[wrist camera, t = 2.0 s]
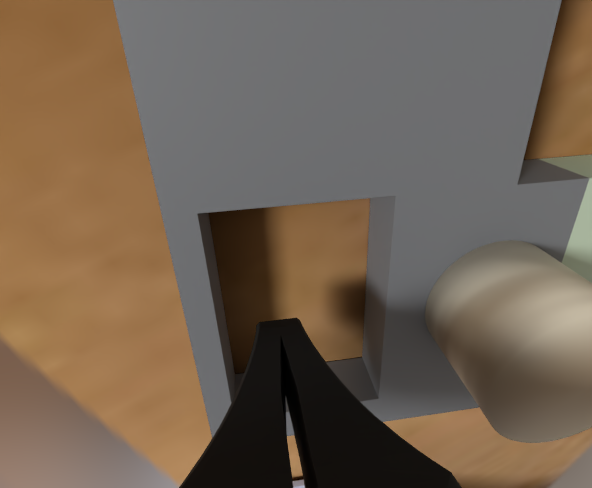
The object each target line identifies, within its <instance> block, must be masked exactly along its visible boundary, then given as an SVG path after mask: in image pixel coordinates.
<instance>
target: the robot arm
mask: <svg viewBox="0 0 592 488" xmlns="http://www.w3.org/2000/svg"><path fill="white" fill-rule="evenodd" d="M286 400H287V404H288V409H289V413H290V417H291V422H292V426H293V431H294V435H295V439H296V444H297V448H298V453H299V457H300V462H301V467H302V472H303V478H304V479H303V480H297V481H292V474H291V467H290V459H289V452H288V444H287V428H286ZM179 488H461V486H460V485H459V483H458V482H457V480H456V479H455V477H454V476H453V475H452V473H451V472H450V471H448V470H447V469H445V468H444V467H442V466H440V465H439V464H437V463H436V462H434V461H433V460H431V459H430V458H428V457H427V456H425V455H424V454H423V453H421V452H420V451H418V450H417V449H416V448H414V447H413V446H412V445H410V444H409V443H408V442H406V441H405V440H404V439H402V438H401V437H400V436H398V435H397V434H396V433H395V432H394V431H392V430H391V429H390V428H389V427H388V426H387V425H385V424H384V423H383V422H382V421H381V420H379V419H378V418H377V417H376V416H375V415H374V414H373V413H371V412H370V411H369V410H368V409H367V408H366V407H365V406H364V405H363V404H362V403H361V402H360V401H359V400H358V399H357V398H356V397H355V396H354V395H353V394H352V393H351V392H350V391H349V390H348V388H347V387H346V386H345V385H344V384H343V383H342V382H341V381H340V379H339V378H338V377H337V376H336V375H335V373H334V372H333V371H332V370H331V368H330V367H329V366H328V365H327V363H326V362H325V360H324V359H323V358H322V356H321V355H320V354H319V352H318V351H317V349H316V348H315V346H314V345H313V343H312V342H311V340H310V339H309V337H308V335H307V334H306V332H305V330H304V328H303V326H302V324H301V322H300V320H299V319H297V318H291V319H283V320H274V321H266V322H259V323H258V324H257V325H256V335H255V340H254V344H253V348H252V352H251V355H250V358H249V361H248V364H247V367H246V370H245V373H244V375H243V378H242V380H241V382H240V385H239V387H238V390H237V392H236V394H235V397H234V399H233V401H232V403H231V405H230V407H229V409H228V411H227V413H226V415H225V417H224V419H223V421H222V423H221V424H220V426H219V428H218V429H217V431H216V433H215V435H214V436H213V438H212V440H211V442H210V443H209V445H208V446H207V448H206V450H205V451H204V453H203V454H202V456H201V457H200V459H199V460H198V461H197V463H196V464H195V466H194V467H193V469H192V470H191V472H190V473H189V475H188V476H187V477H186V479H185V480H184V482H183V483H182V484H181V486H180V487H179Z"/></svg>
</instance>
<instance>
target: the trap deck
mask: <svg viewBox="0 0 592 488" xmlns="http://www.w3.org/2000/svg"><path fill="white" fill-rule="evenodd" d="M561 1H562V0H113V2H114V6H115V11H116V15H117V20H118V24H119V28H120V33H121V37H122V42H123V46H124V50H125V55H126V59H127V64H128V68H129V73H130V77H131V81H132V86H133V90H134V95H135V99H136V103H137V108H138V112H139V117H140V121H141V125H142V130H143V134H144V139H145V143H146V147H147V152H148V156H149V161H150V165H151V170H152V174H153V178H154V183H155V187H156V192H157V196H158V200H159V205H160V209H161V214H162V218H163V222H164V227H165V231H166V236H167V240H168V244H169V249H170V253H171V258H172V262H173V266H174V271H175V275H176V280H177V284H178V289H179V293H180V297H181V302H182V306H183V311H184V315H185V319H186V324H187V328H188V333H189V337H190V341H191V346H192V350H193V355H194V359H195V363H196V368H197V372H198V377H199V381H200V385H201V390H202V394H203V399H204V403H205V408H206V412H207V416H208V421H209V425H210V430H211V434H212V438H213V436H214V435H215V433H216V431H217V429H218V428H219V426H220V424H221V423H222V421H223V419H224V417H225V415H226V413H227V411H228V409H229V407H230V405H231V403H232V401H233V399H234V397H235V394H236V392H237V390H238V387H239V385H240V382H241V380H242V378H243V375H244V373H240V374H235V372H234V366H233V360H232V354H231V348H230V342H229V336H228V330H227V323H226V317H225V311H224V305H223V299H222V293H221V287H220V281H219V275H218V269H217V262H216V256H215V250H214V244H213V238H212V232H211V226H210V220H209V214H208V213H209V212H220V211H232V210H243V209H254V208H265V207H276V206H287V205H298V204H309V203H320V202H331V201H342V200H353V199H365V198H370V216H369V236H368V255H367V275H366V294H365V313H364V333H363V352H362V358H354V359H347V360H339V361H331V362H326V363H327V365H328V366H329V367H330V368H331V370H332V371H333V372H334V373H335V375H336V376H337V377H338V378H339V379H340V381H341V382H342V383H343V384H344V385H345V386H346V387H347V388H348V390H349V391H350V392H351V393H352V394H353V395H354V396H355V397H356V398H357V399H358V400H359V401H360V402H361V403H362V404H363V405H364V406H365V407H366V408H367V409H368V410H369V411H370V412H371V413H373V414H374V415H375V416H376V417H377V418H378V419H379V420H381V421H382V422H385V421H391V420H398V419H405V418H411V417H418V416H425V415H431V414H438V413H445V412H451V411H458V410H465V409H472V408H478V407H479V406H478V404H477V403H476V401H475V400H474V398H473V397H472V395H471V394H470V392H469V391H468V389H467V388H466V386H465V385H464V383H463V382H462V380H461V379H460V377H459V376H458V374H457V373H456V371H455V370H454V368H453V367H452V365H451V364H450V362H449V361H448V359H447V358H446V356H445V355H444V353H443V352H442V350H441V349H440V347H439V346H438V344H437V343H436V341H435V340H434V338H433V337H432V335H431V334H430V332H429V330H428V328H427V325H426V320H425V308H426V303H427V300H428V297H429V294H430V292H431V290H432V288H433V286H434V285H435V283H436V282H437V280H438V279H439V277H440V276H441V275H442V274H443V273H444V271H445V270H446V269H447V268H449V267H450V266H451V265H452V264H453V263H454V262H455V261H457V260H458V259H459V258H461V257H462V256H464V255H465V254H467V253H469V252H471V251H472V250H474V249H476V248H479V247H481V246H484V245H487V244H490V243H494V242H499V241H508V240H515V241H523V242H527V243H530V244H533V245H535V246H537V247H538V248H540V249H541V250H543V251H544V252H546V253H547V254H549V255H550V256H552V257H553V258H555V259H556V260H558V261H559V262H561V263H562V264H564V265H565V266H567V267H568V268H570V269H571V270H573V271H574V272H576V273H577V274H579V275H580V276H582V277H583V278H585V279H586V280H588V281H589V282H591V283H592V155H580V156H568V157H556V158H544V159H532V160H523V159H524V155H525V151H526V147H527V143H528V138H529V134H530V130H531V126H532V122H533V118H534V113H535V109H536V105H537V101H538V97H539V93H540V88H541V84H542V80H543V76H544V72H545V68H546V63H547V59H548V55H549V51H550V47H551V43H552V38H553V34H554V30H555V26H556V22H557V17H558V13H559V9H560V5H561ZM286 428H287V436H291V435H294V431H293V426H292V422H291V417H290V413H289V409H288V404H287V400H286Z"/></svg>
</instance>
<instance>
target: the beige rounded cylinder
mask: <svg viewBox="0 0 592 488" xmlns="http://www.w3.org/2000/svg"><path fill="white" fill-rule="evenodd" d="M425 320H426V325H427V328H428V330H429V332H430V334H431V335H432V337H433V338H434V340H435V341H436V343H437V344H438V346H439V347H440V349H441V350H442V352H443V353H444V355H445V356H446V358H447V359H448V361H449V362H450V364H451V365H452V367H453V368H454V370H455V371H456V373H457V374H458V376H459V377H460V379H461V380H462V382H463V383H464V385H465V386H466V388H467V389H468V391H469V392H470V394H471V395H472V397H473V398H474V400H475V401H476V403H477V404H478V406H479V407H480V409H481V410H482V412H483V413H484V415H485V416H486V418H487V419H488V421H489V422H490V424H491V425H492V427H493V428H494V429H495V430H496V431H497V432H498V433H499V434H500V435H502V436H504V437H506V438H508V439H511V440H514V441H518V442H526V443H540V442H548V441H553V440H558V439H562V438H566V437H569V436H572V435H575V434H577V433H580V432H582V431H585V430H587V429H589V428H591V427H592V283H591V282H589V281H588V280H586V279H585V278H583V277H582V276H580V275H579V274H577V273H576V272H574V271H573V270H571V269H570V268H568V267H567V266H565V265H564V264H562V263H561V262H559V261H558V260H556V259H555V258H553V257H552V256H550V255H549V254H547V253H546V252H544V251H543V250H541V249H540V248H538V247H537V246H535V245H533V244H530V243H527V242H523V241H515V240H508V241H499V242H494V243H490V244H487V245H484V246H481V247H479V248H476V249H474V250H472V251H471V252H469V253H467V254H465V255H464V256H462V257H461V258H459V259H458V260H457V261H455V262H454V263H453V264H452V265H451V266H450V267H449V268H447V269H446V270H445V271H444V273H443V274H442V275H441V276H440V277H439V279H438V280H437V282H436V283H435V285H434V286H433V288H432V290H431V292H430V294H429V297H428V300H427V303H426V308H425Z"/></svg>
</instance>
